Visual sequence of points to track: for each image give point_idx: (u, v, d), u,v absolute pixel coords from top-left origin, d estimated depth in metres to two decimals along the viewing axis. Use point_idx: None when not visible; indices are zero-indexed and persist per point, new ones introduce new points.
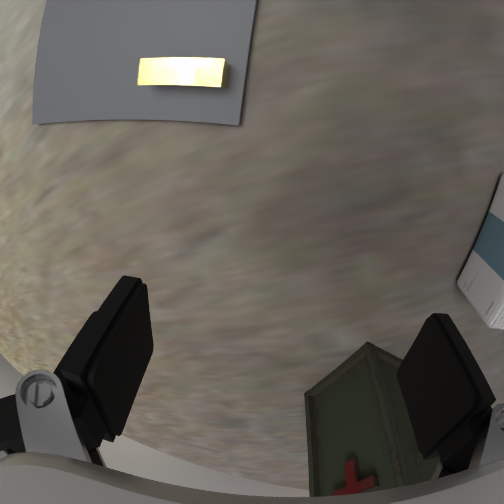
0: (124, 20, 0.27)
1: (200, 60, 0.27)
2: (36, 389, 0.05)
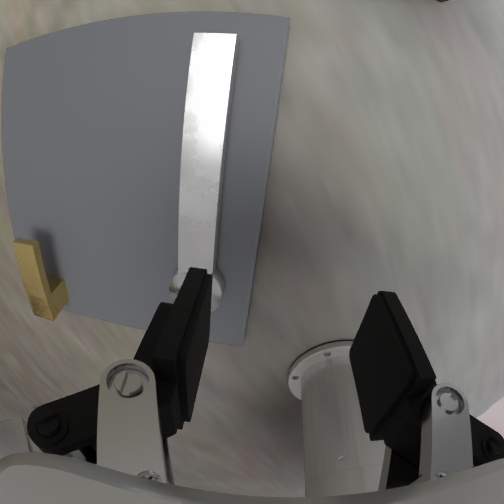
0: (99, 185, 0.25)
1: (45, 302, 0.27)
2: (125, 377, 0.06)
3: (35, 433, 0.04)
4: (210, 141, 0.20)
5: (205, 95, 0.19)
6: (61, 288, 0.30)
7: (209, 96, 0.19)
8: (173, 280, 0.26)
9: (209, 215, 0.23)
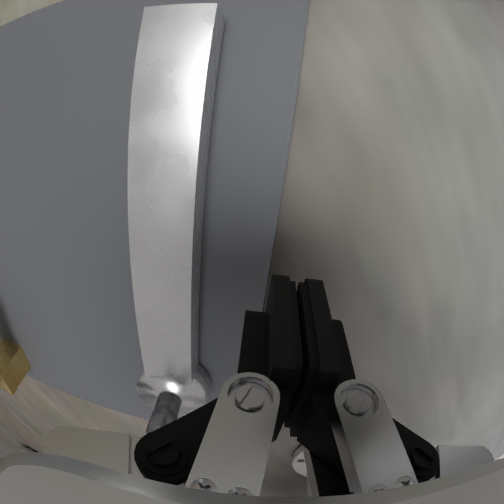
0: (37, 247, 0.16)
1: (0, 377, 0.18)
2: (248, 390, 0.06)
3: (148, 466, 0.04)
4: (172, 198, 0.12)
5: (160, 115, 0.10)
6: (19, 357, 0.21)
7: (168, 116, 0.10)
8: (140, 381, 0.17)
9: (180, 312, 0.14)
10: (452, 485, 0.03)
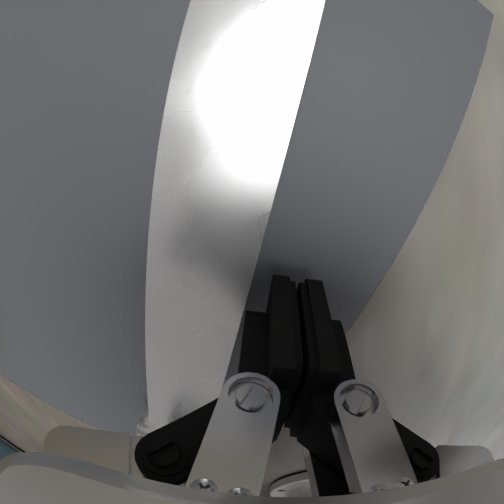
0: (21, 231, 0.11)
1: None
2: (248, 390, 0.06)
3: (149, 466, 0.04)
4: (231, 212, 0.07)
5: (230, 72, 0.06)
6: None
7: (244, 76, 0.06)
8: (141, 425, 0.13)
9: (212, 366, 0.10)
10: (452, 485, 0.03)
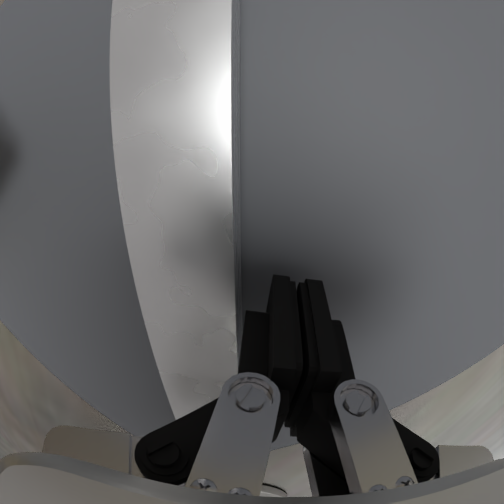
0: None
1: None
2: (248, 390, 0.06)
3: (149, 466, 0.04)
4: (196, 220, 0.07)
5: (160, 88, 0.06)
6: None
7: (173, 88, 0.06)
8: None
9: (222, 372, 0.10)
10: (452, 485, 0.03)
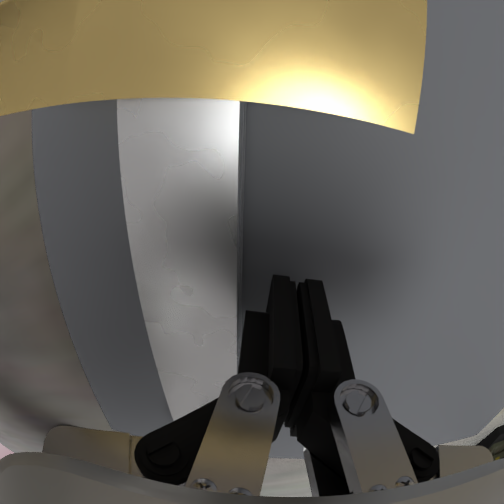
0: (427, 304, 0.11)
1: (50, 92, 0.04)
2: (248, 390, 0.06)
3: (149, 466, 0.04)
4: (200, 221, 0.07)
5: None
6: None
7: None
8: None
9: (221, 372, 0.10)
10: (452, 485, 0.03)
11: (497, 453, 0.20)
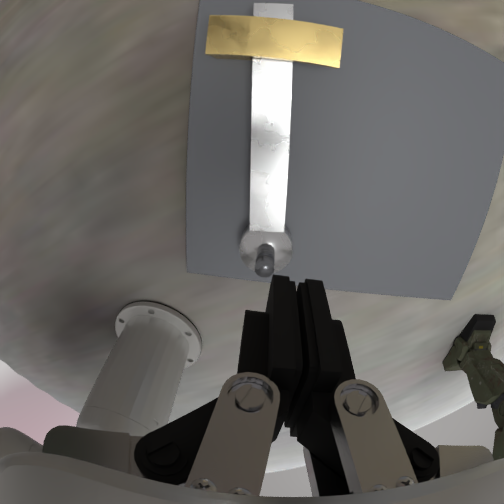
0: (374, 152, 0.24)
1: (240, 51, 0.18)
2: (247, 390, 0.06)
3: (148, 466, 0.04)
4: (279, 98, 0.21)
5: None
6: (242, 58, 0.21)
7: None
8: (244, 238, 0.27)
9: (281, 167, 0.24)
10: (452, 485, 0.03)
11: (480, 342, 0.34)
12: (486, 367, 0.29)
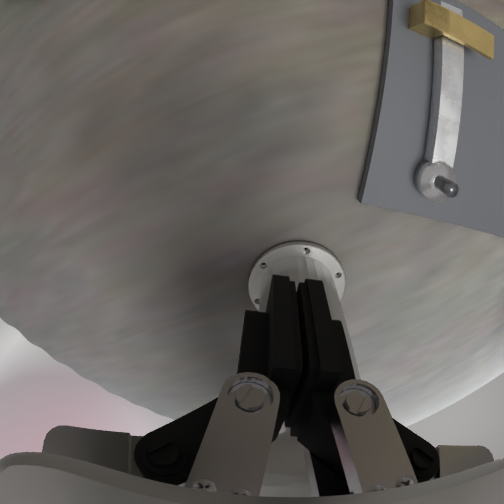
0: (495, 120, 0.25)
1: (445, 30, 0.19)
2: (248, 390, 0.06)
3: (149, 466, 0.04)
4: (457, 68, 0.22)
5: (452, 40, 0.20)
6: (429, 35, 0.21)
7: (454, 41, 0.20)
8: (427, 169, 0.28)
9: (456, 117, 0.24)
10: (452, 485, 0.03)
11: None
12: None
